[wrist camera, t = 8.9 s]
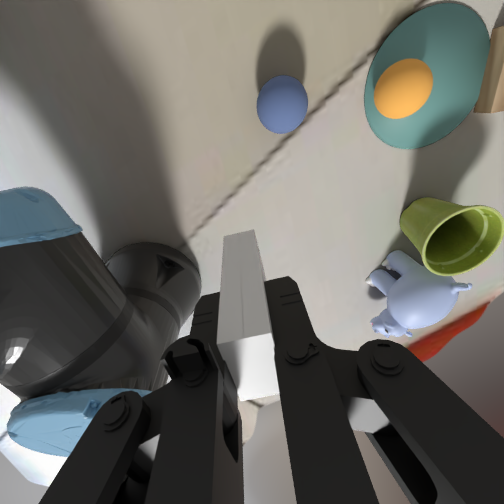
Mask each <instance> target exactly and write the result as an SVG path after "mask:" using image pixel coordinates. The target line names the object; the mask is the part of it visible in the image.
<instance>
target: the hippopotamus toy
mask: <svg viewBox="0 0 504 504" xmlns="http://www.w3.org/2000/svg"><path fill="white" fill-rule="evenodd" d="M382 266H386V268H387V269H388V270H392V271H397V272H398V273H399V274H400V275H401V276H402V277H400V278H399V279H398V280H396V279H395V278H393V277H392V276H391V275H390V274H389V273H388V272H386V271H385V270H375V271H373V272H372V273H371V274H370V276H369V277H368V278H367V279H366V283H368V284H370V285H371V286H372V287H377V288H378V289H379V290H380V291H381V292H382V293H383V294H384V295H385V296H386V297H387V309H385V310H383V311H382V312H381V313H380V315H379V316H377V317H375V318H373V319H372V320H371V322H370V324H371V325H373V326H372V329H373V330H374V331H375V333H381V334H384V335H385V337H387V338H389V336H390V335H393V336H395V337H399V336H402V335H403V334H405V335H407V336H409V337H412V333H411V332H407V330H408V328H410V329H417V328H423V327H427V326H430V325H433V324H435V323H437V322H439V321H440V320H442V319H443V318H444V317H445V316H446V315H447V314H448V313H449V312H450V311H451V310H452V308H453V307H454V305H455V303H456V301H457V299H458V294H459V291H460V290H469V289H471V288H472V284H471V283H468V284H465V283H456V282H455V280H454V279H453V278H452V276H441V275H437V274H434V273H432V272H431V271H430V270H428V269H427V268H426V266H421V265H420V264H419V263H417V262H416V261H415V260H413V259H412V258H411V257H409V256H408V255H407V254H405V253H404V252H402V251H399V250H396V251H393V252H391V253H390V254H389V255H388V256H387V258H386V259H385V260H384V261H383V263H382Z"/></svg>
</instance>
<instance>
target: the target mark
mask: <svg viewBox="0 0 504 504" xmlns="http://www.w3.org/2000/svg"><path fill="white" fill-rule="evenodd" d="M490 46H491V44H490V39H489V34H488V32H487V29H486V26H485V25H484V23H483V21H482V20H481V18H480V17H479V16H478V15H477V14H476V13H475V12H474V11H472V10H471V9H469V8H467V7H465V6H463V5H459V4H455V3H442V4H436V5H433V6H429V7H427V8H424V9H422V10H420V11H418V12H416V13H415V14H413V15H411V16H410V17H408V18H407V19H406V20H404V21H403V22H402V23H401V24H400V25H399V26H398V27H397V28H395V29H394V30H393V31H392V33H391V34H390V35H389V36H388V37H387V39H386V40H385V41H384V43H383V44H382V46H381V47H380V49H379V51H378V52H377V54H376V56H375V58H374V60H373V63H372V65H371V67H370V70H369V73H368V76H367V81H366V86H365V94H364V105H365V112H366V116H367V120H368V122H369V125H370V127H371V129H372V130H373V132H374V133H375V134H376V136H377V137H378V138H379V139H381V140H382V141H383V142H385V143H386V144H388V145H390V146H393V147H396V148H401V149H414V148H420V147H424V146H427V145H429V144H432V143H434V142H436V141H438V140H440V139H441V138H443V137H444V136H446V135H447V134H449V133H450V132H451V131H453V130H454V129H455V128H456V127H457V126H458V125H459V124H460V123H461V122H462V121H463V120H464V119H465V118H466V116H467V115H468V114H469V112H470V111H471V110H472V108H473V107H474V105H475V104H476V102H477V100H478V97H479V93H480V89H481V84H482V80H483V76H484V71H485V67H486V63H487V58H488V54H489V50H490ZM404 59H418V60H421V61H423V62H424V63H426V64H427V65H428V67H429V68H430V70H431V72H432V75H433V86H432V90H431V93H430V96H429V98H428V99H427V101H426V102H425V104H424V105H423V106H422V107H421V108H420V109H419V110H418V111H416V112H415V113H413V114H412V115H410V116H407V117H405V118H400V119H392V118H388V117H385V116H383V115H382V114H381V113H380V112H379V111H378V110H377V108H376V106H375V103H374V90H375V87H376V84H377V82H378V80H379V78H380V76H381V75H382V74H383V72H384V71H385V70H386V69H387V68H389V67H390V66H391V65H393V64H394V63H396V62H398V61H400V60H404Z"/></svg>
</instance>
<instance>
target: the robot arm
mask: <svg viewBox="0 0 504 504" xmlns="http://www.w3.org/2000/svg"><path fill="white" fill-rule="evenodd" d="M82 230H83V229H82V228H81V226H79V225H77V224H75V223H74V221H73V220H72V219H71V218H70V216H69V215H68V214H67V213H66V212H65V210H64V209H63V208H62V207H61V206H60V204H59V203H58V202H57V201H56V200H55V198H54V197H52V196H51V195H50V194H49V193H47V192H45V191H43V190H41V189H38V188H34V187H18V188H13V189H8V190H4V191H0V383H1V384H2V385H3V386H5V387H6V388H7V389H9V390H10V391H11V392H13V393H14V394H15V395H17V396H18V397H19V398H20V399H21V402H20V403H19V404H18V405H17V406H16V407H14V409H13V410H12V411H11V417H10V419H9V421H8V423H7V430H8V434H9V436H10V438H11V439H12V440H13V441H15V442H16V443H18V444H19V445H21V446H23V447H26V448H28V449H31V450H34V451H37V452H41V453H45V454H50V455H56V456H64V457H68V458H67V460H66V461H65V463H64V464H63V466H62V468H61V469H60V471H59V472H58V474H57V476H56V477H55V479H54V480H53V482H52V483H51V485H50V487H49V488H48V490H47V491H46V493H45V495H44V496H43V498H42V499H41V501H40V502H39V504H244V484H243V483H244V482H243V448H242V420H241V416H240V412H239V410H238V404H237V393H238V396H239V398H240V400H241V401H245V400H250V399H255V398H260V397H266V396H271V395H276V394H280V399H281V406H282V412H283V418H284V425H285V431H286V438H287V444H288V450H289V456H290V463H291V469H292V476H293V481H294V488H295V495H296V501H297V504H379V502H378V499H377V496H376V494H375V491H374V488H373V485H372V482H371V480H370V477H369V474H368V472H367V469H366V466H365V463H364V460H363V458H362V455H361V452H360V449H359V447H358V444H357V441H356V438H355V436H354V433H353V430H358V431H364V432H365V434H366V435H367V436H368V438H369V440H370V441H371V443H372V444H373V446H374V447H375V449H376V450H377V452H378V454H379V455H380V457H381V458H382V460H383V461H384V463H385V464H386V466H387V467H388V469H389V471H390V472H391V474H392V475H393V477H394V478H395V480H396V481H397V483H398V485H399V486H400V487H401V489H402V491H403V492H404V494H405V495H406V497H407V498H408V500H409V501H410V503H411V504H504V438H503V437H502V436H500V435H499V433H497V432H496V431H495V430H494V429H493V428H492V427H491V426H490V425H489V424H488V423H487V422H486V421H485V420H483V419H482V418H481V417H480V416H479V415H478V414H477V413H476V412H475V411H474V410H473V409H472V408H471V407H470V406H468V405H467V404H466V403H465V402H464V401H463V400H462V399H461V398H460V397H459V396H458V395H457V394H456V393H454V392H453V391H452V390H451V389H450V388H449V387H448V386H447V385H446V384H445V383H444V382H443V381H441V380H440V379H439V378H438V377H437V376H436V375H435V374H434V373H433V372H432V371H431V370H429V368H428V367H426V366H425V365H424V364H423V363H422V362H421V361H420V360H419V359H418V358H417V357H416V356H415V355H414V354H413V353H411V352H410V351H409V350H408V349H406V348H405V347H403V346H402V345H401V344H398V343H395V342H393V341H390V340H381V339H377V340H372V341H368V342H367V343H365V344H364V345H362V346H361V347H360V349H359V351H351V350H341V349H336V348H332V347H330V346H327V345H326V344H324V343H323V342H321V341H320V340H319V339H318V338H317V336H316V334H315V333H314V330H313V327H312V325H311V322H310V319H309V316H308V313H307V311H306V308H305V305H304V302H303V299H302V296H301V294H300V291H299V288H298V285H297V283H296V282H295V281H294V280H293V279H292V278H290V277H289V276H286V277H282V278H277V279H273V280H268V281H266V278H265V273H264V269H263V265H262V260H261V256H260V252H259V248H258V244H257V240H256V236H255V232H254V230H250V231H245V232H241V233H237V234H232V235H228V236H224V243H223V258H222V272H221V287H220V292H217V293H213V294H208V295H204V296H201V298H200V293H201V279H200V276H199V273H198V271H197V269H196V268H195V266H194V265H193V263H192V262H191V261H190V260H189V259H188V258H187V257H186V256H184V255H183V254H182V253H180V252H178V251H177V250H175V249H173V248H170V247H168V246H165V245H161V244H157V243H136V244H131V245H128V246H126V247H123V248H122V249H120V250H118V251H117V252H116V253H115V254H114V255H113V256H112V257H111V258H110V259H109V261H108V262H107V263H106V264H104V262H103V261H102V260H101V258H100V257H99V255H98V254H97V253H96V251H95V250H94V249H93V247H92V246H91V244H90V243H89V242H88V240H87V239H86V238H85V236H84V235H83V234H82V232H81V231H82ZM199 298H200V299H199ZM193 311H194V315H193V316H194V318H193V320H192V327H191V331H190V335H188V336H185V337H182V338H179V339H178V335H179V331H180V328H181V327H182V326H183V324H184V323H185V321H186V320H187V319H188V317H189V316H190V315H191V314H192V313H193ZM177 339H178V340H177ZM168 375H169V376H170V377H171V379H172V380H171V381H170V382H169V383H167V379H168ZM166 383H167V384H166ZM352 429H353V430H352Z"/></svg>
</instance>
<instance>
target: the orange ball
mask: <svg viewBox="0 0 504 504" xmlns="http://www.w3.org/2000/svg"><path fill="white" fill-rule="evenodd" d="M432 86H433V75H432V72H431V70H430V68H429V67H428V65H427V64H426V63H424V62H423V61H421V60H418V59H404V60H400V61H398V62H396V63H394V64H393V65H391V66H390V67H389V68H387V69H386V70H385V71H384V72H383V74H382V75H381V76H380V78H379V80H378V82H377V84H376V87H375V90H374V103H375V106H376V108H377V110H378V111H379V112H380V113H381V114H382V115H383V116H385V117H388V118H392V119H400V118H405V117H407V116H410V115H412V114H413V113H415V112H416V111H418V110H419V109H420V108H421V107H422V106H423V105H424V104H425V102H426V101H427V99H428V98H429V96H430V93H431V90H432Z"/></svg>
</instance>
